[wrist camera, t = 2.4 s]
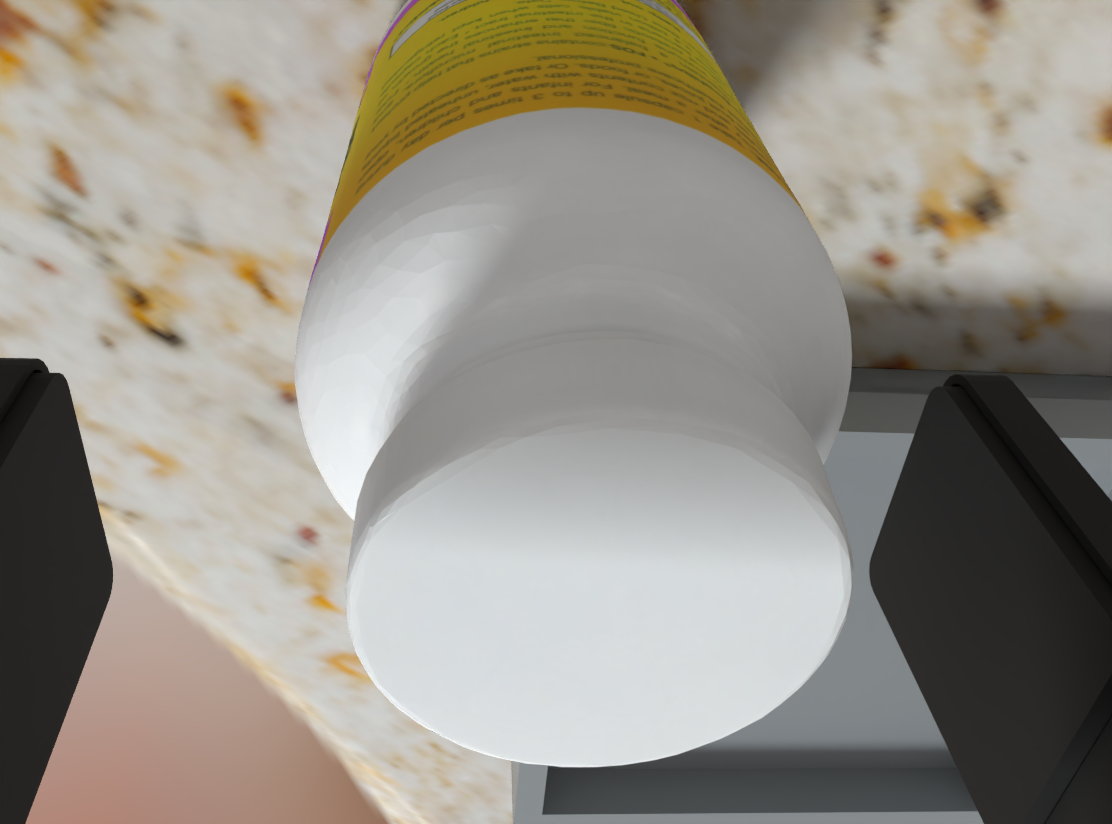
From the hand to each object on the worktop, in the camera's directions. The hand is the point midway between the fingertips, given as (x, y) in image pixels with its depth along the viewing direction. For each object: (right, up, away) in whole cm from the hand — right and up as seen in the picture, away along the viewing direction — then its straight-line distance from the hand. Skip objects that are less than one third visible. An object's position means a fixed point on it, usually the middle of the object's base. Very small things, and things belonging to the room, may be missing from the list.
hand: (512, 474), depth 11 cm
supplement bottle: (0, +7, +8) cm, 11 cm away
